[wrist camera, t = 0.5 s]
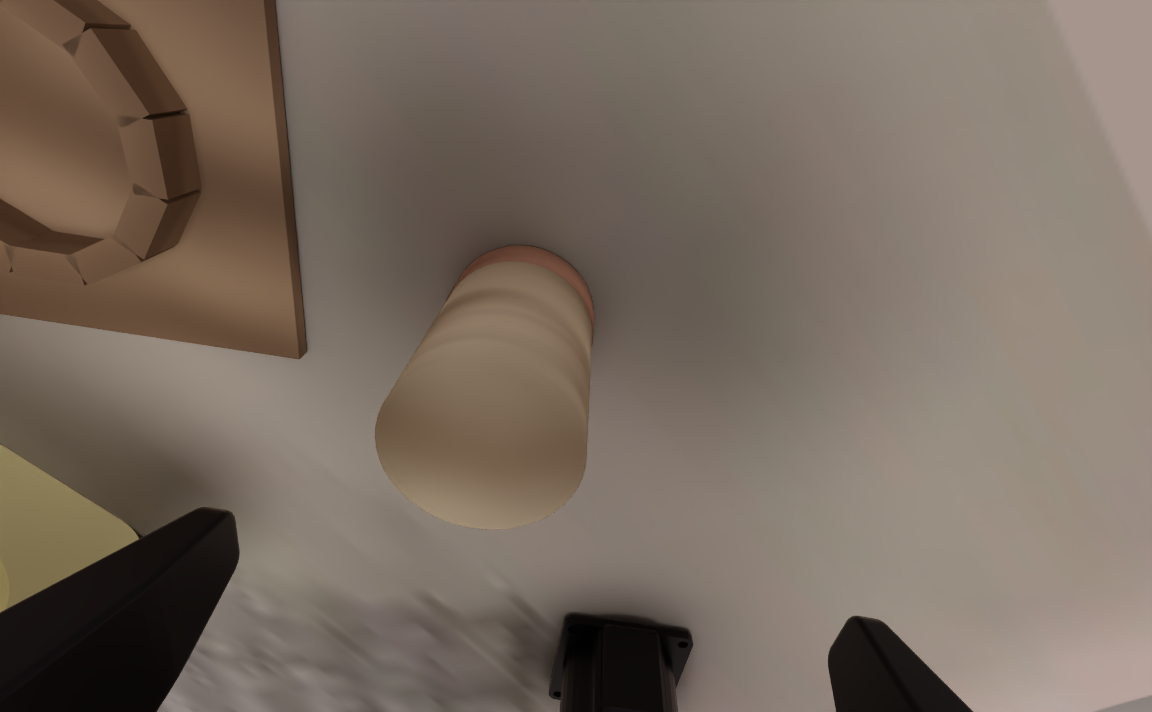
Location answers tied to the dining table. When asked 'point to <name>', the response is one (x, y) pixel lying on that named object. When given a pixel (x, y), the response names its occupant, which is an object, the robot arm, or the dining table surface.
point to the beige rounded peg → (496, 395)
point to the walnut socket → (148, 171)
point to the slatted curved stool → (48, 530)
